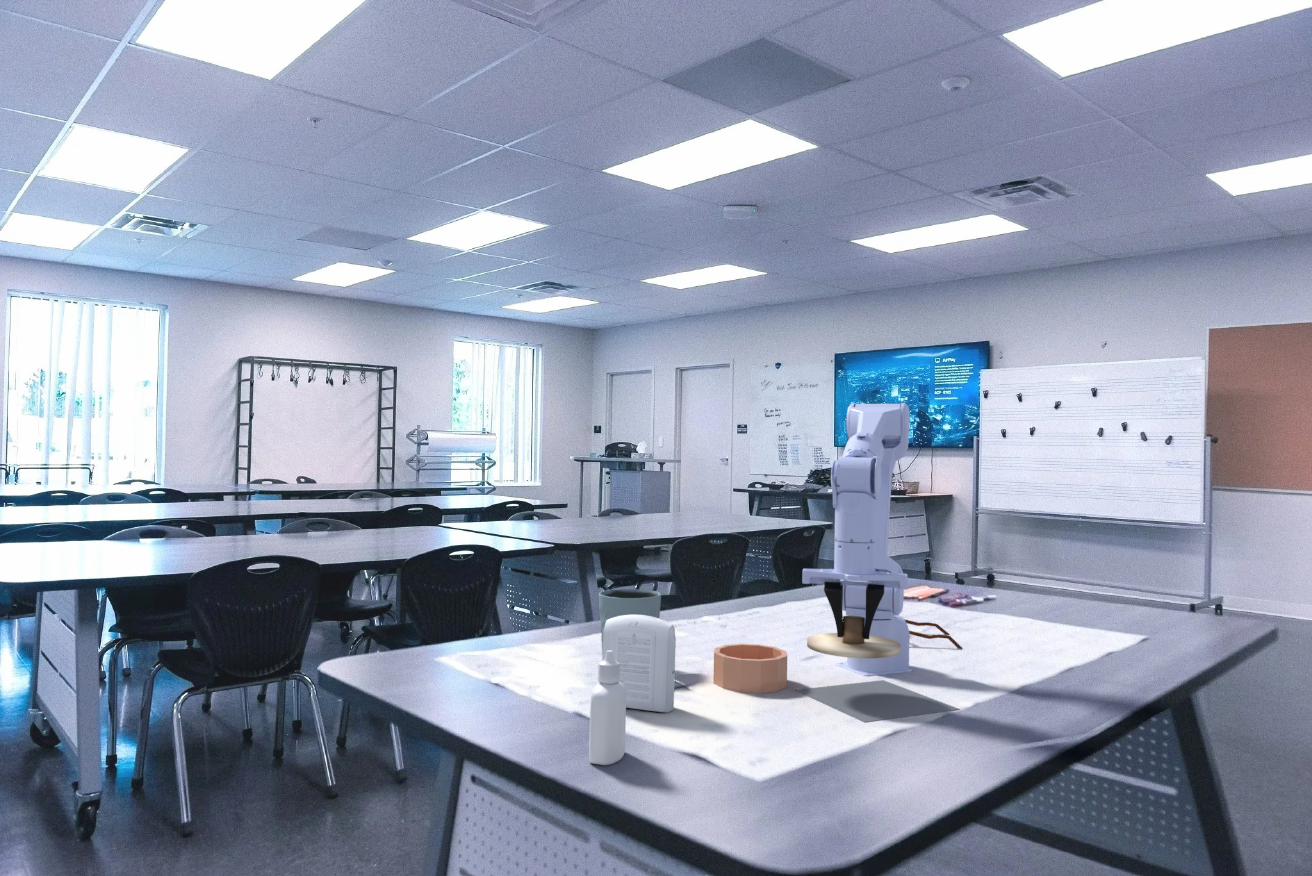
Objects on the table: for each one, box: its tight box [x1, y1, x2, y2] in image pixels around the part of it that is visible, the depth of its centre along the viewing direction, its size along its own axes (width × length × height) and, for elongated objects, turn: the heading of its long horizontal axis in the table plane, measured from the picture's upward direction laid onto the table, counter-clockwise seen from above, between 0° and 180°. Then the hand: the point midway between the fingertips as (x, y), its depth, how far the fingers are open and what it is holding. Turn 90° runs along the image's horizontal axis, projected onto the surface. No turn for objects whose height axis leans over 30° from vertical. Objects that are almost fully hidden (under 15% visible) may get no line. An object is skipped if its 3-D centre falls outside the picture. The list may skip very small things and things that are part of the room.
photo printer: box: [601, 615, 677, 714], centre depth 118 cm, size 10×4×12 cm, turn 72°
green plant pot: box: [598, 588, 662, 659], centre depth 139 cm, size 10×10×12 cm
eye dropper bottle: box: [588, 650, 627, 766], centre depth 98 cm, size 4×6×12 cm
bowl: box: [712, 643, 788, 694], centre depth 130 cm, size 11×11×5 cm
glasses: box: [903, 618, 963, 649], centre depth 165 cm, size 13×13×5 cm
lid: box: [806, 615, 901, 658], centre depth 123 cm, size 13×13×4 cm
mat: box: [794, 679, 961, 723], centre depth 122 cm, size 16×16×1 cm
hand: (853, 636), depth 123 cm, fingers closed on lid, 3 cm apart
